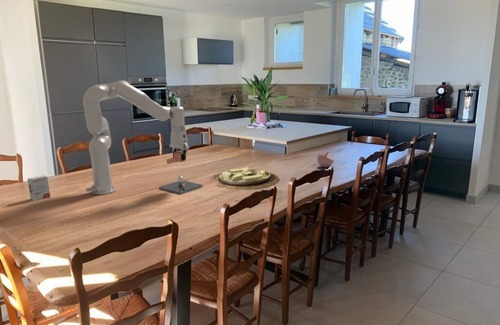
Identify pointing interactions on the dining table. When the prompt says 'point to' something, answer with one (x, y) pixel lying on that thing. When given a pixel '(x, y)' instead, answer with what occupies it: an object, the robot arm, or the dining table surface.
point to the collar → (175, 158)
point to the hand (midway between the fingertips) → (179, 159)
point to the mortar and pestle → (324, 160)
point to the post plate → (180, 186)
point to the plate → (246, 179)
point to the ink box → (38, 187)
